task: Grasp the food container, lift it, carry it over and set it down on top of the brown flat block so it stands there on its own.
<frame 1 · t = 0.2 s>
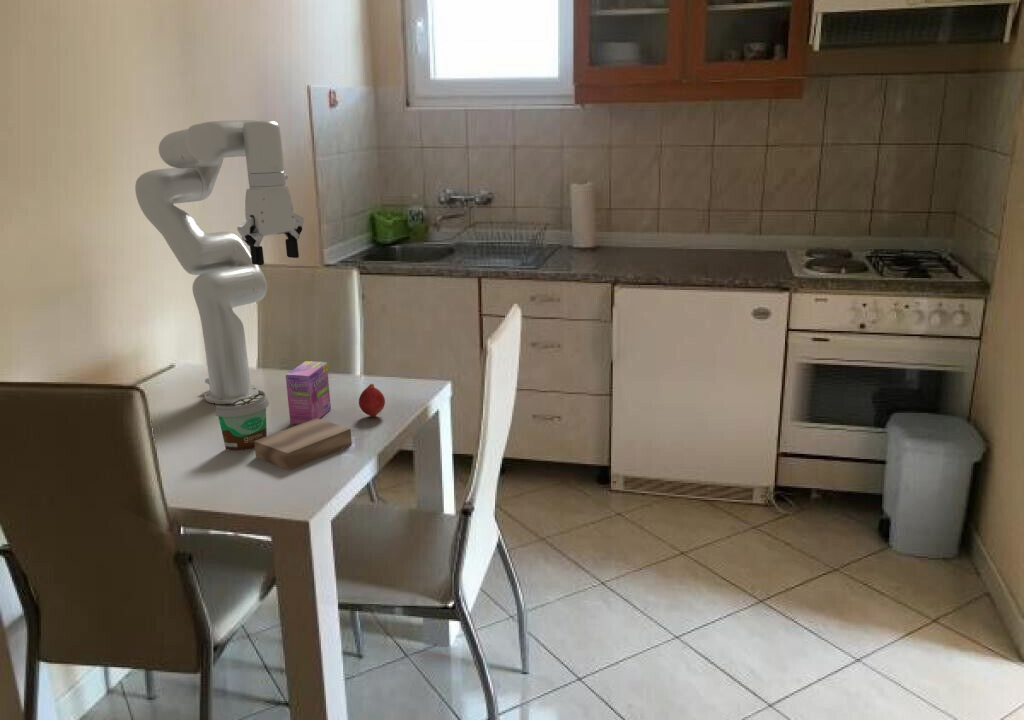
hand: (276, 260, 185), 36 cm above the table, tool pointing down, fingers open, 9 cm apart
food container: (253, 445, 180), on the table
onion: (373, 417, 194), on the table
box: (311, 417, 195), on the table
brown flat block: (304, 452, 176), on the table
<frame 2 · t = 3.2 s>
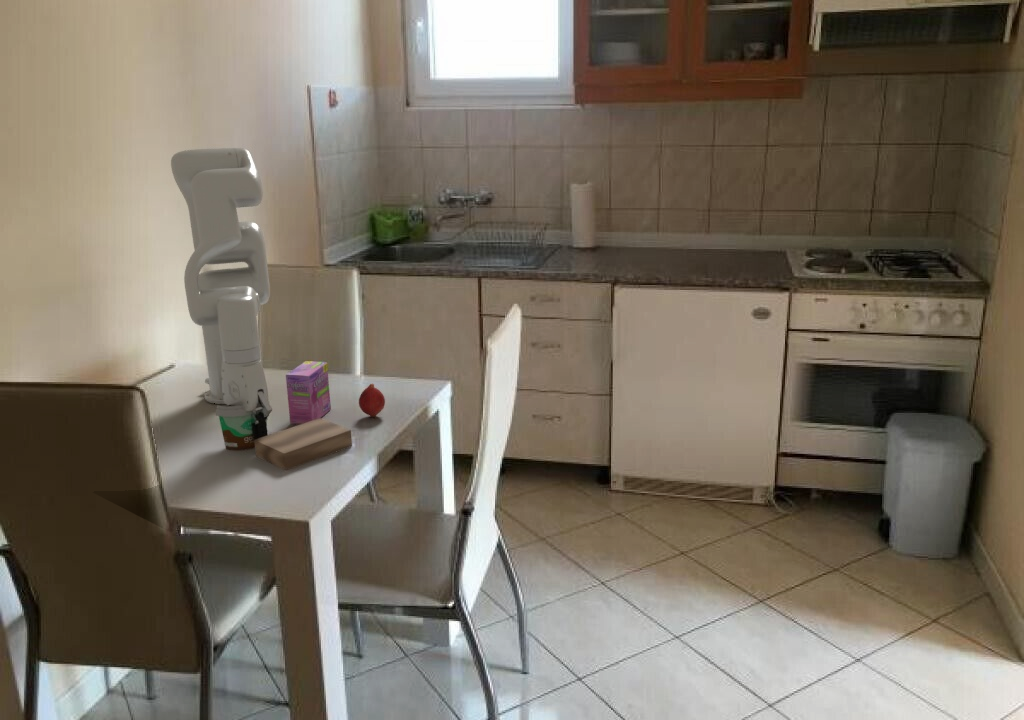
hand: (251, 435, 179), 2 cm above the table, tool pointing down, fingers open, 5 cm apart
food container: (253, 445, 180), on the table, touching gripper
everything else where it was.
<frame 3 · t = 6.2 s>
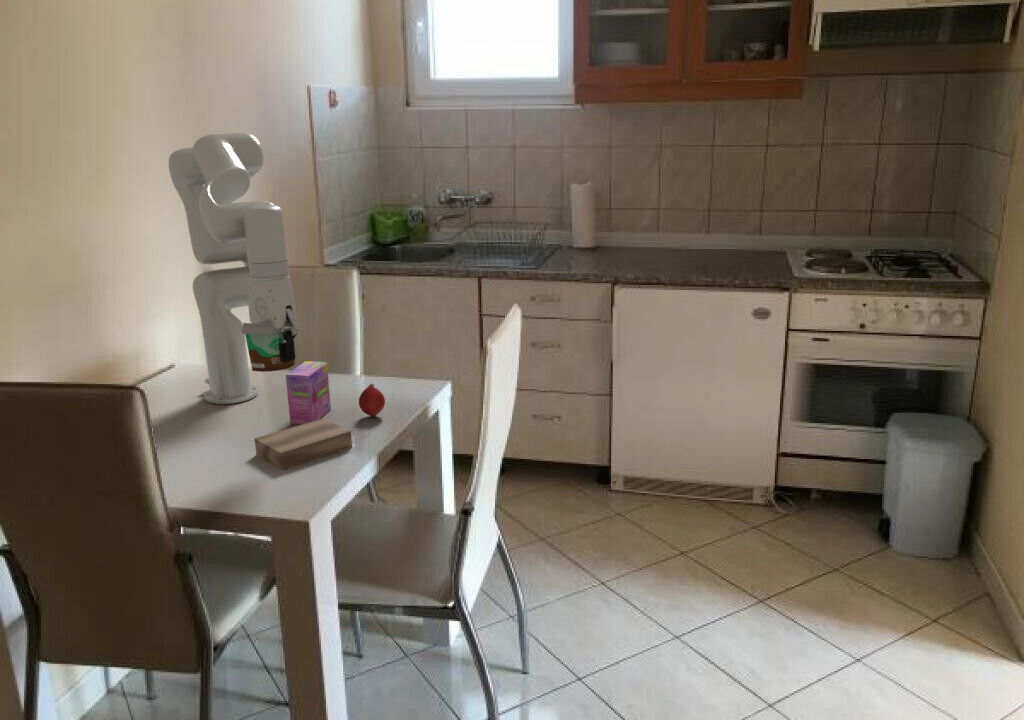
hand: (278, 357, 171), 20 cm above the table, tool pointing down, fingers closed on food container, 5 cm apart
food container: (281, 367, 171), point 18 cm above the table, touching gripper
everything else where it was.
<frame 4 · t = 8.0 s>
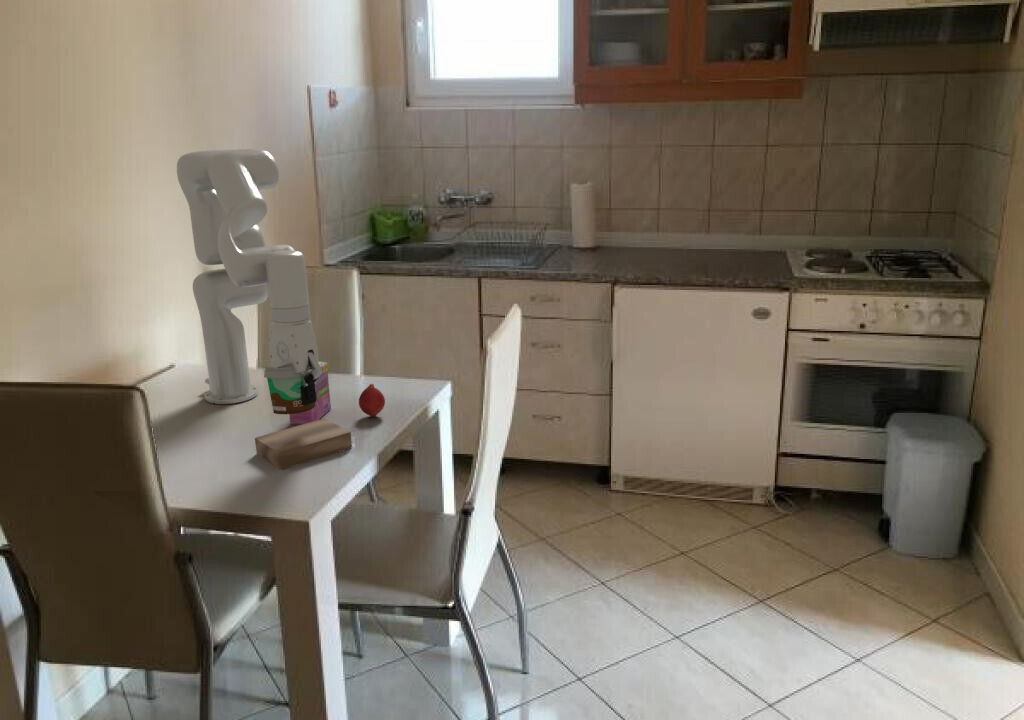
hand: (299, 399, 172), 11 cm above the table, tool pointing down, fingers closed on food container, 5 cm apart
food container: (301, 410, 172), point 9 cm above the table, touching gripper
everything else where it was.
when the fingers open (7 cm above the table, at t = 9.2 s): food container drops 2 cm, resting on brown flat block.
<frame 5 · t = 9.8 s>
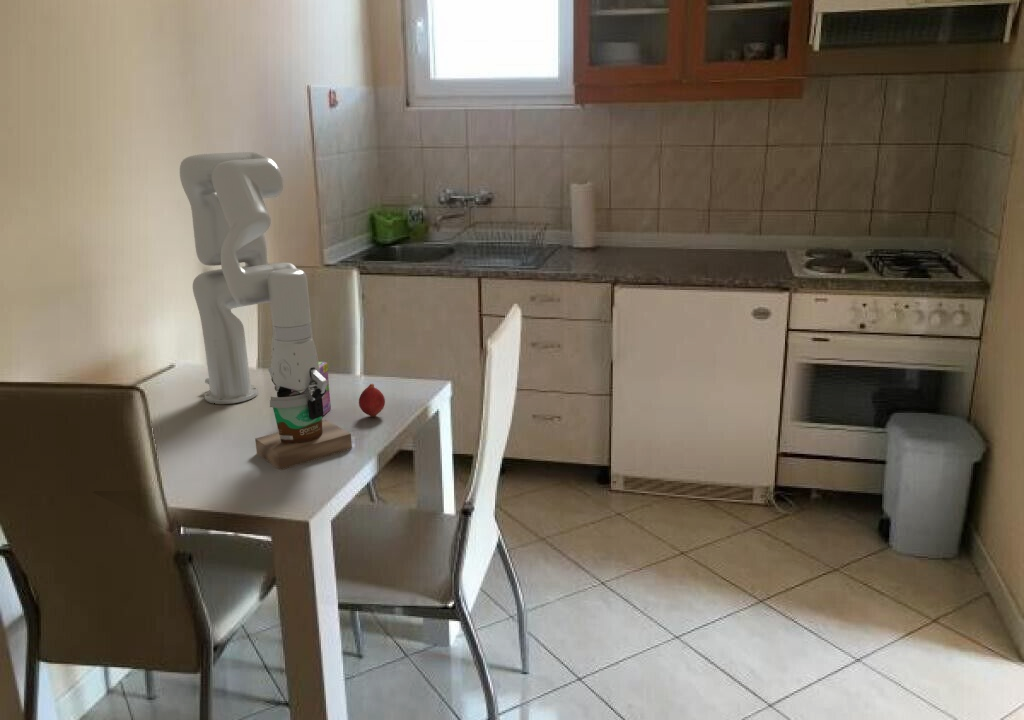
hand: (301, 412, 173), 8 cm above the table, tool pointing down, fingers open, 9 cm apart
food container: (309, 437, 173), point 3 cm above the table, touching gripper, brown flat block
brown flat block: (305, 454, 176), on the table, touching food container
everything else where it was.
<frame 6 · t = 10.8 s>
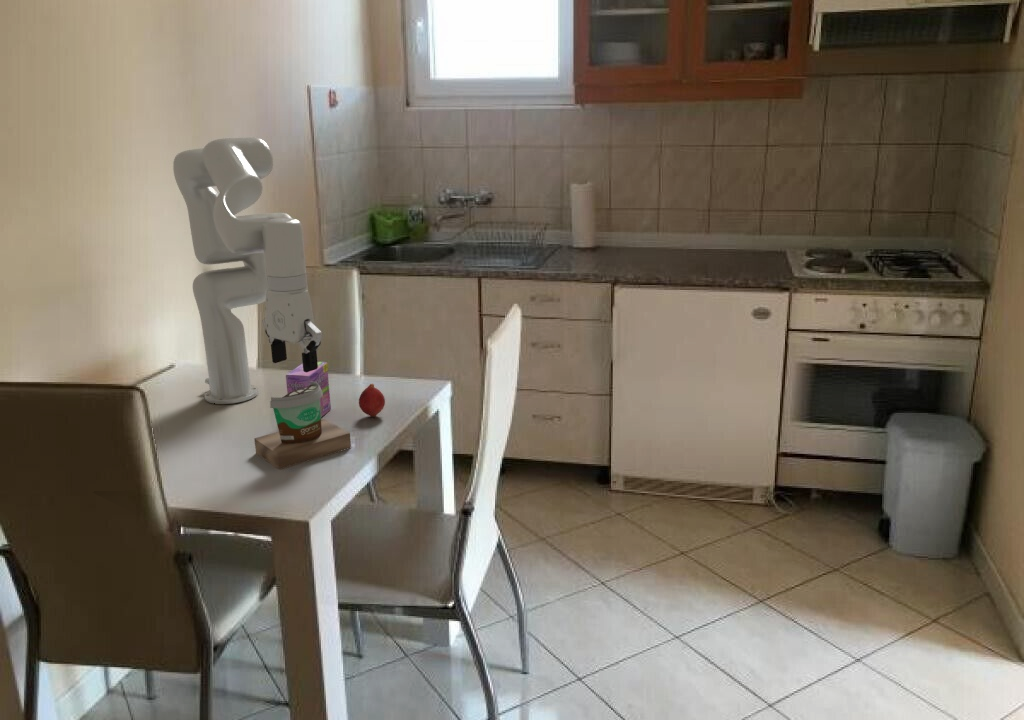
hand: (295, 365, 171), 18 cm above the table, tool pointing down, fingers open, 9 cm apart
food container: (309, 437, 174), point 3 cm above the table, touching brown flat block
everything else where it was.
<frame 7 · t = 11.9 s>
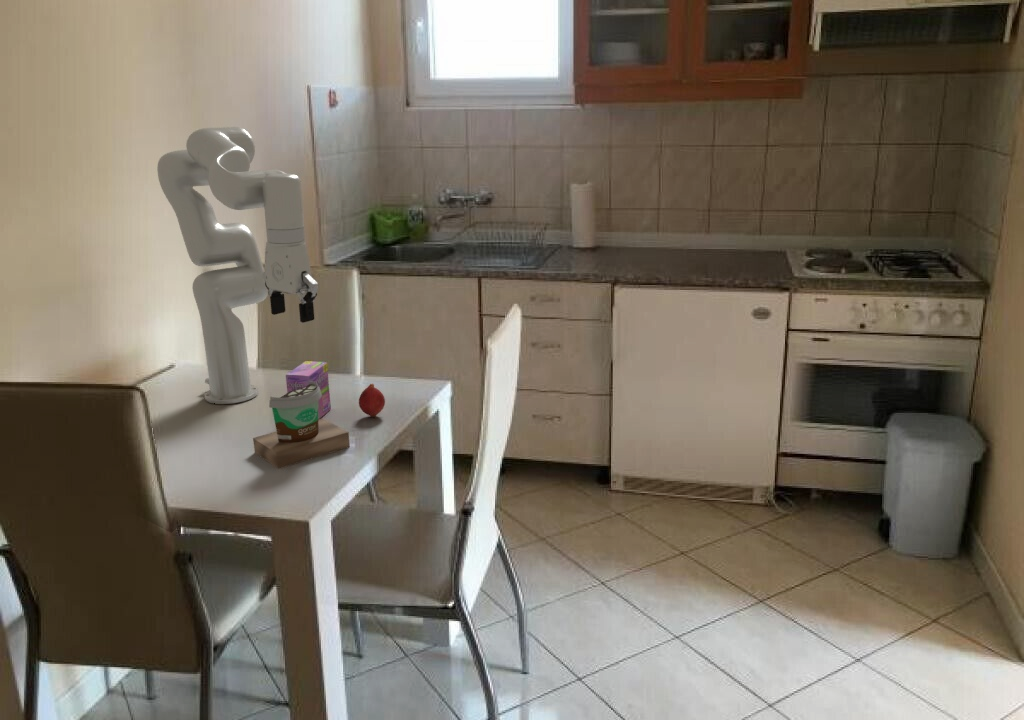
hand: (292, 317, 178), 26 cm above the table, tool pointing down, fingers open, 9 cm apart
food container: (306, 437, 174), point 3 cm above the table, touching brown flat block
everything else where it was.
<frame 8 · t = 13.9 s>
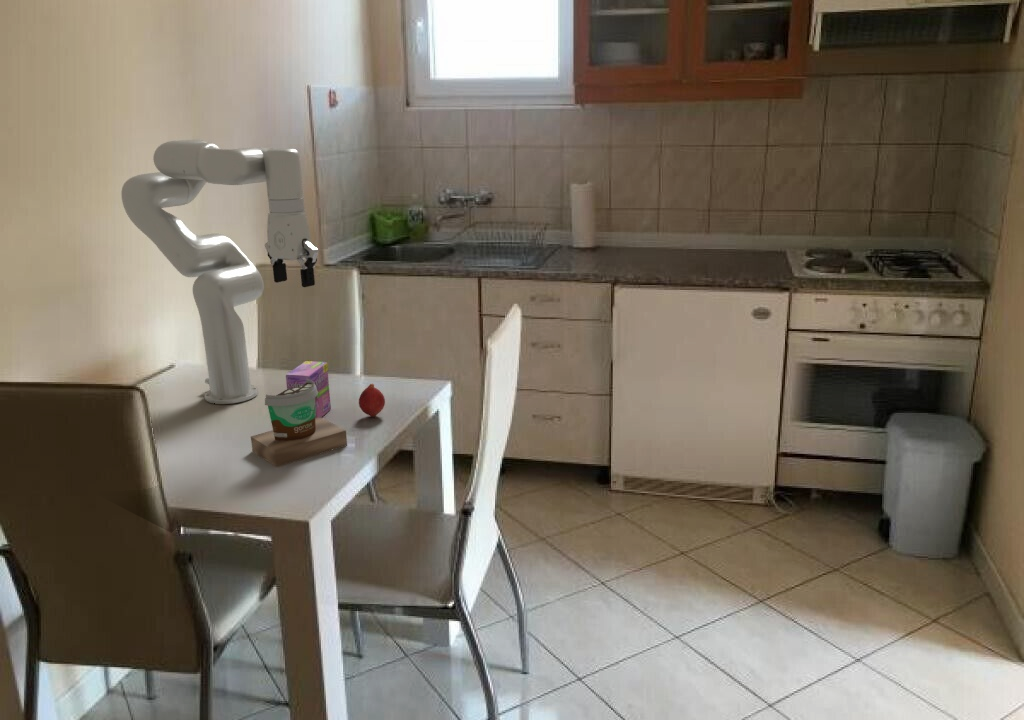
hand: (294, 283, 190), 30 cm above the table, tool pointing down, fingers open, 9 cm apart
food container: (302, 435, 175), point 3 cm above the table, touching brown flat block
brown flat block: (300, 451, 177), on the table, touching food container
everything else where it was.
at the end: food container inside the target area on the brown flat block (1.3 cm from its centre), point 3.9 cm above the brown flat block's base; food container tilted 2°; the gripper is holding nothing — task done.
